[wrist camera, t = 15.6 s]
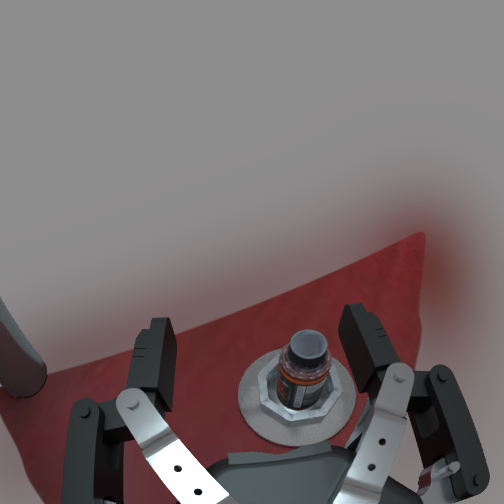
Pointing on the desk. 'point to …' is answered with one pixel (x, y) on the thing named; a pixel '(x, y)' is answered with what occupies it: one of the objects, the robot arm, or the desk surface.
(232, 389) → the desk surface
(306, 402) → the supplement bottle
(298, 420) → the steel collar
